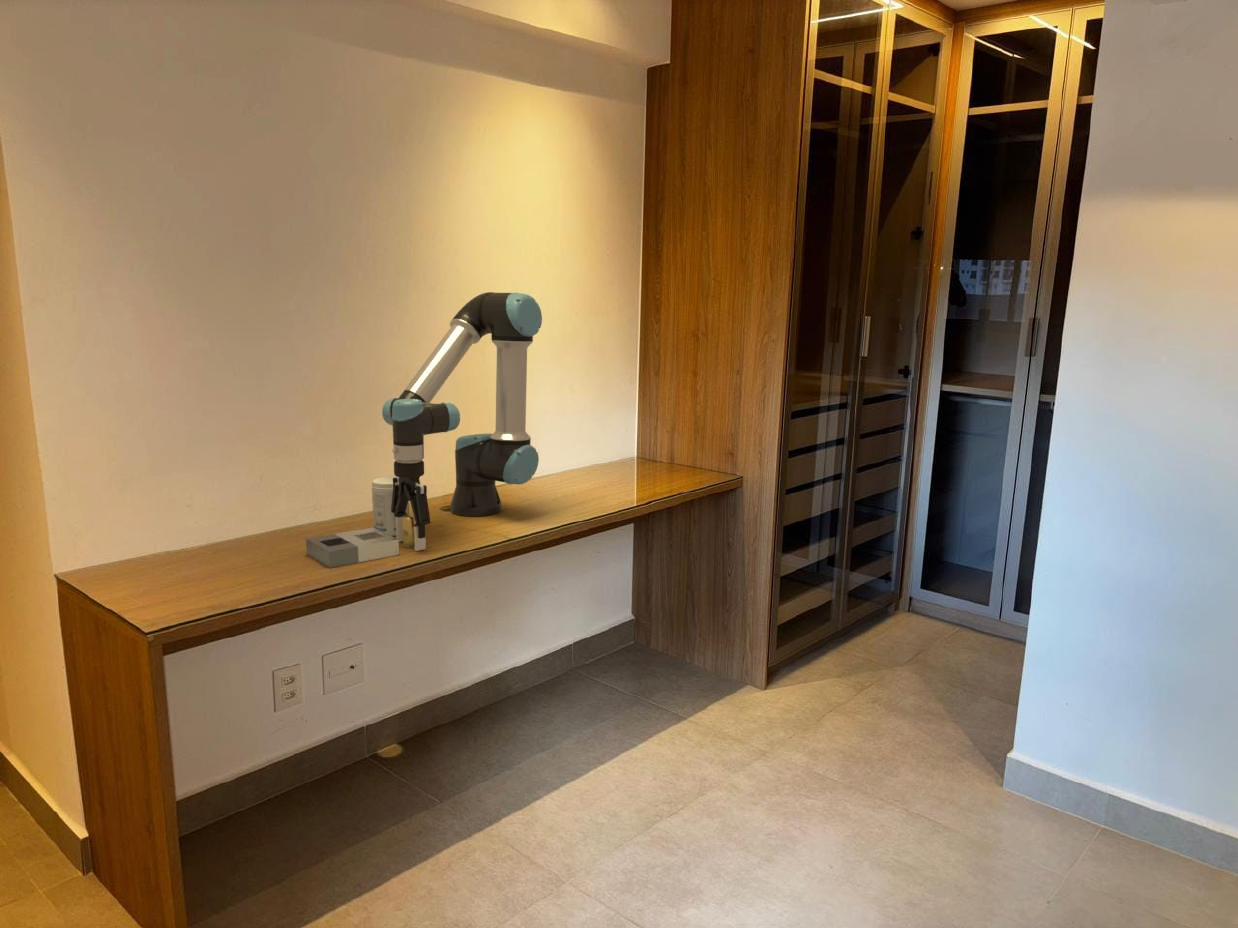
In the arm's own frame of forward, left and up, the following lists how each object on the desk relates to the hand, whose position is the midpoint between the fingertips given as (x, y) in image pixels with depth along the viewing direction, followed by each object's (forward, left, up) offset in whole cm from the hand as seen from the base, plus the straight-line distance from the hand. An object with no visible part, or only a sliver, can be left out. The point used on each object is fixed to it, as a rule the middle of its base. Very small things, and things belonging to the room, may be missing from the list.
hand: (410, 545), depth 232 cm
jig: (+15, -2, 0) cm, 15 cm away
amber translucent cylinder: (0, 0, 0) cm, 0 cm away
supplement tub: (-2, -15, 0) cm, 15 cm away
